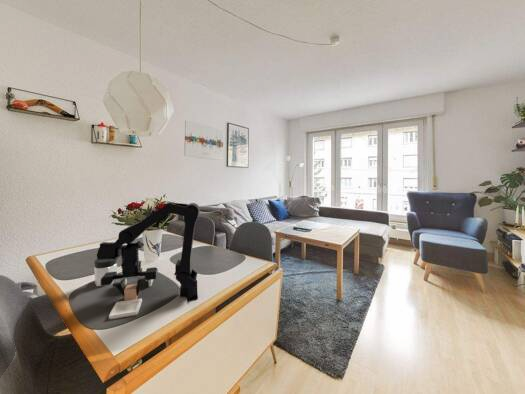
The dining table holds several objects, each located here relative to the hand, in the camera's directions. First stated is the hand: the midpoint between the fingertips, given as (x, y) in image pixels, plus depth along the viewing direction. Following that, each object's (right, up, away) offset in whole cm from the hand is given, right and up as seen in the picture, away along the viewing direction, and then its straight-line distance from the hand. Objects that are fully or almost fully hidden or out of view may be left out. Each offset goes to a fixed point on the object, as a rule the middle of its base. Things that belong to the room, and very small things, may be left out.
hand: (131, 296), depth 87 cm
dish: (+3, -2, -7) cm, 8 cm away
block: (0, -1, 0) cm, 1 cm away
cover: (-4, 0, +11) cm, 12 cm away
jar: (-20, -1, +13) cm, 24 cm away
